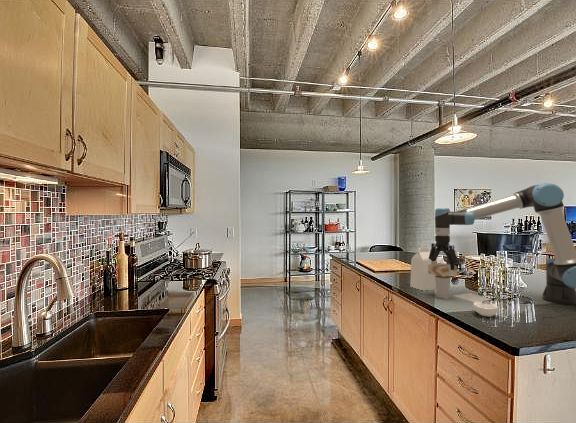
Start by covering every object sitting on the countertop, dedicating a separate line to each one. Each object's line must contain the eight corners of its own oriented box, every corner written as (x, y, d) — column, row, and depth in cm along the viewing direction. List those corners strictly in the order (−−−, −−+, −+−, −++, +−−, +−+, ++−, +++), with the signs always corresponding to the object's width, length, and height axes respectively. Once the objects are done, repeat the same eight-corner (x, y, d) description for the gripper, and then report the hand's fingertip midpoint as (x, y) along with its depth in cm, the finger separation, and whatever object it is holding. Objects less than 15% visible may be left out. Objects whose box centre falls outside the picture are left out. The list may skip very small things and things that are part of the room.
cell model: (470, 316, 144) (470, 301, 144) (476, 310, 153) (476, 296, 153) (496, 321, 137) (496, 306, 137) (500, 314, 146) (500, 300, 146)
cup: (452, 299, 171) (452, 278, 171) (437, 299, 172) (437, 277, 172) (448, 296, 179) (448, 275, 179) (433, 295, 180) (433, 274, 180)
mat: (492, 300, 170) (492, 299, 170) (474, 302, 165) (474, 302, 165) (469, 293, 183) (469, 293, 183) (452, 296, 178) (452, 295, 178)
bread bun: (457, 275, 172) (457, 266, 172) (443, 276, 169) (443, 267, 169) (442, 271, 182) (441, 263, 182) (428, 273, 178) (428, 264, 178)
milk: (423, 291, 190) (422, 249, 190) (410, 286, 201) (409, 247, 201) (438, 289, 194) (438, 248, 194) (425, 285, 205) (424, 246, 205)
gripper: (421, 234, 185) (422, 270, 185) (454, 236, 163) (455, 278, 163) (431, 233, 188) (431, 269, 188) (465, 236, 166) (465, 277, 166)
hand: (442, 273), depth 175 cm, fingers closed on bread bun, 10 cm apart
